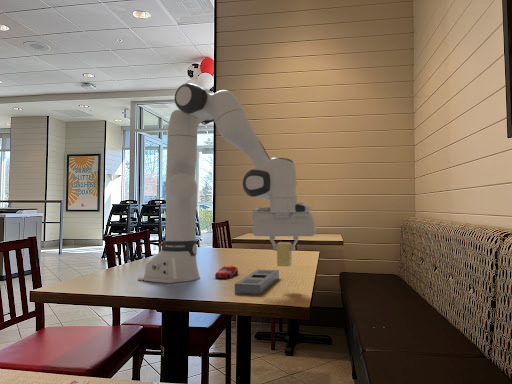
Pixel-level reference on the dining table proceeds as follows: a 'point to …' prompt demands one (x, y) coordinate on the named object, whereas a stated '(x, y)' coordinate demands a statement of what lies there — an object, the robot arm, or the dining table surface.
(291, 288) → the dining table surface
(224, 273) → the race car
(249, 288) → the rail
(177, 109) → the robot arm
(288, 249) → the pale yellow block
